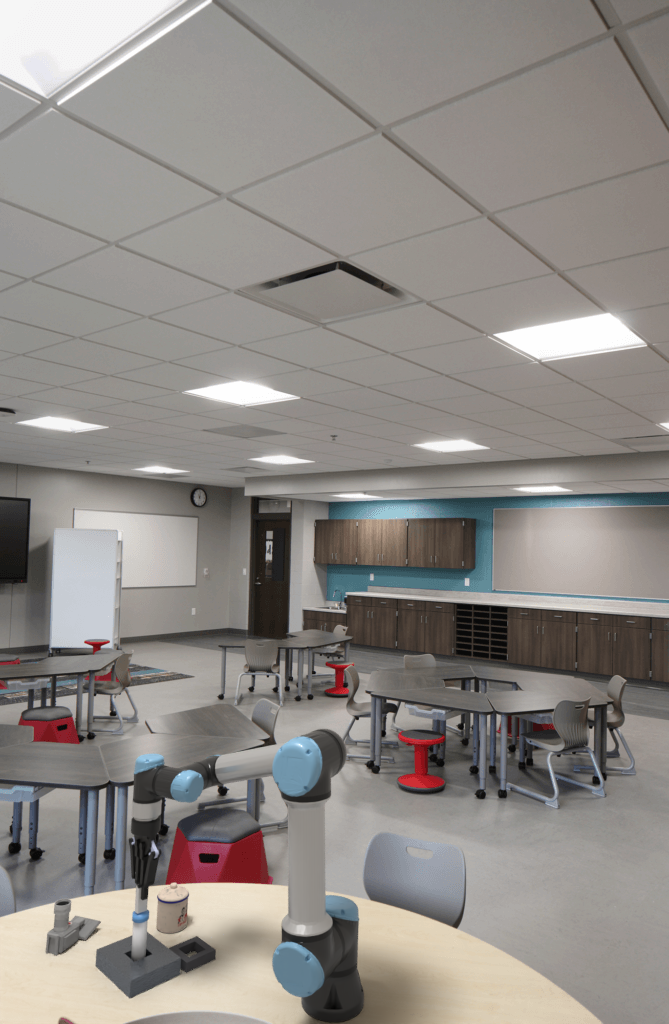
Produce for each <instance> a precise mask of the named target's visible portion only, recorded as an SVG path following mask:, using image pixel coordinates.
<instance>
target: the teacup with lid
mask: <svg viewBox="0 0 669 1024" xmlns="http://www.w3.org/2000/svg"><path fill="white" fill-rule="evenodd" d="M189 896H190V892H189V890H188V889H187V888H186V887H185V886H182V885H178V883H177V882H171V883H170V885H169V886H166V887H164V888H162V889H160V890H159V891H158V893H157V896H156V898H157V907H156V908H157V909H156V911H157V912H156V925H155V926H156V930H158V931H159V932H160V933H164V934H174V933H178V932H181V931H182V930H184V929H185V928H186V927H187V924H188V909H189V907H188V904H189V903H188V902H189Z"/></svg>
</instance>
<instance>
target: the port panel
mask: <svg viewBox="0 0 669 1024" xmlns="http://www.w3.org/2000/svg"><path fill="white" fill-rule="evenodd" d="M169 948H170V947H167V946H166V945H165V944H164V943H162V942H161V941H160V940H159V939H158V938H156V937H155V936H153V935H152V934H151V933H149V931H147V941H146V957H145V958H142V959H140V960H138V961H135V962H134V961H132V960H131V952H132V935H129V936H127V937H124V938H122V939H120V940H117V941H114V942H112V943H109V944H107V945H105V946H102V947H99V948H97V949H96V951H95V954H96V955H95V964H94V965H95V967H96V968H97V969H98V970H99V971H100V972H102V974H103V975H104V976H106V977H107V979H109V981H111V982H112V983H113V984H114V985H115V986H116V987H117V988H118V989H119V990H120V991H121V992H122V993H123V994H124V995H125V996H127V998H128V999H132V998H134V997H136V996H138V995H140V994H142V993H144V992H146V991H149V990H150V989H153V988H155V987H158V986H160V985H161V984H163V983H165V982H167V981H170V980H172V979H174V978H177V977H178V976H180V975H181V970H182V969H181V958H180V957H179V956H178V955H177V954H175V953H174V952H173V951H171V950H170V949H169Z"/></svg>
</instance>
